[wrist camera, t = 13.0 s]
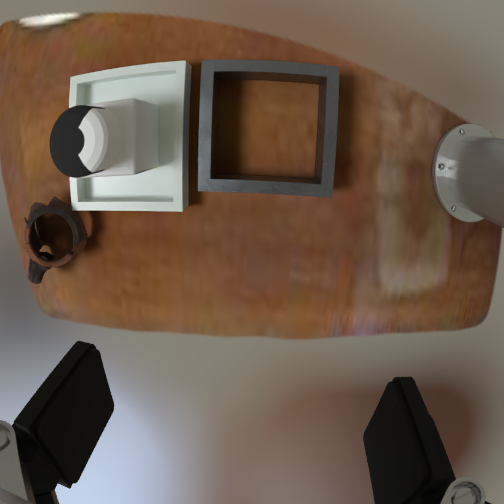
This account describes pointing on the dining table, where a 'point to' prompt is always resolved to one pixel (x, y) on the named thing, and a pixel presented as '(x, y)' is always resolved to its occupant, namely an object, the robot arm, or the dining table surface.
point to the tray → (170, 138)
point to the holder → (272, 72)
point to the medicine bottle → (106, 139)
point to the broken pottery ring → (33, 243)
